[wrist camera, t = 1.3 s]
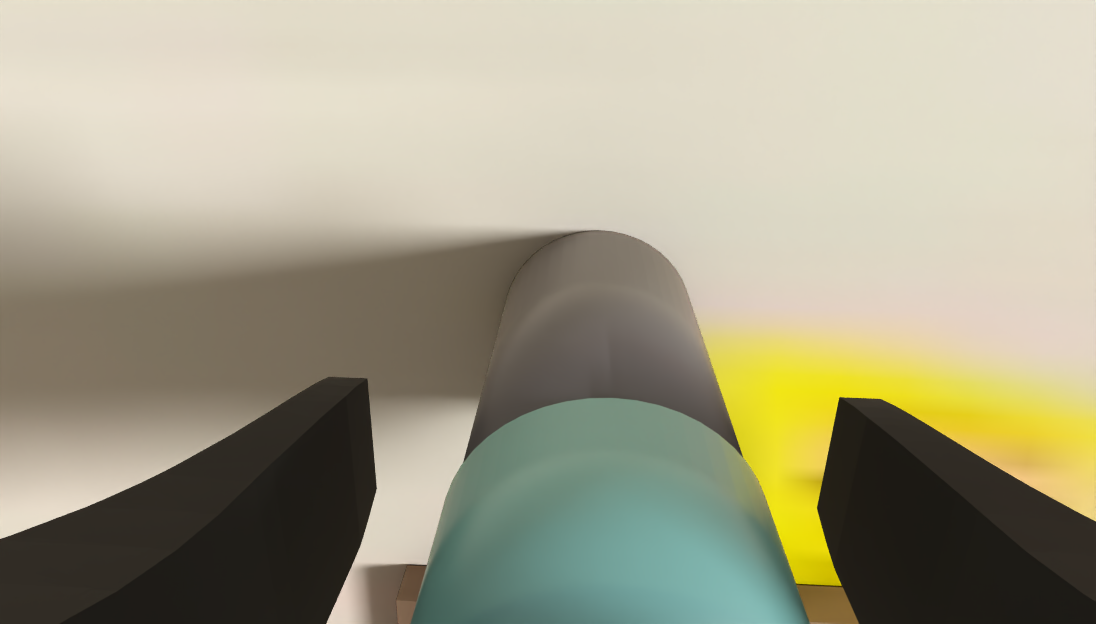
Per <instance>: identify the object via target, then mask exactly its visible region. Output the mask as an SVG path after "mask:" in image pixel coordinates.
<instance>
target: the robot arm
mask: <svg viewBox="0 0 1096 624" xmlns="http://www.w3.org/2000/svg"><path fill="white" fill-rule="evenodd" d="M376 489H377V487H376V475H375V463H374V451H373V440H372V428H371V416H370V404H369V392H368V381H367V379H364V378H339V377H328V378H326V379H323V380H321V381H319V382H318V383H316V384H314V385H312V386H310V387H309V388H307V389H305V390H304V391H302V392H300V393H299V394H297V395H295V396H294V397H292V398H291V399H289V400H287V401H286V402H284V403H282V404H281V405H279V406H278V407H276V408H274V409H273V410H271V411H270V412H268V413H266V414H265V415H263V416H261V417H260V418H258V419H256V420H255V421H253V422H252V423H250V424H248V425H247V426H245V427H243V428H242V429H240V430H238V431H237V432H235V433H233V434H232V435H230V436H228V437H226V438H225V439H223V440H221V441H219V442H217V443H216V444H214V445H212V446H210V447H208V448H207V449H205V450H203V451H201V452H199V453H198V454H196V455H194V456H192V457H190V458H189V459H187V460H185V461H183V462H181V463H180V464H178V465H176V466H174V467H172V468H170V469H168V470H166V471H164V472H162V473H160V474H158V475H156V476H154V477H152V478H150V479H148V480H146V481H144V482H142V483H140V484H138V485H135V486H133V487H131V488H129V489H126V490H124V491H122V492H120V493H118V494H115V495H113V496H111V497H109V498H106V499H104V500H102V501H100V502H97V503H95V504H92V505H90V506H88V507H85V508H83V509H80V510H77V511H75V512H72V513H69V514H67V515H64V516H61V517H59V518H56V519H53V520H51V521H48V522H45V523H43V524H40V525H37V526H35V527H32V528H30V529H27V530H24V531H22V532H19V533H16V534H14V535H11V536H8V537H5V538H2V539H0V624H326V623H327V620H328V618H329V616H330V614H331V612H332V609H333V607H334V605H335V603H336V600H337V598H338V596H339V594H340V591H341V589H342V587H343V585H344V582H345V580H346V578H347V575H348V573H349V571H350V569H351V566H352V564H353V562H354V559H355V557H356V555H357V552H358V550H359V548H360V545H361V542H362V539H363V535H364V532H365V529H366V525H367V522H368V519H369V515H370V511H371V508H372V504H373V500H374V497H375V493H376ZM817 510H818V514H819V517H820V521H821V525H822V528H823V532H824V536H825V539H826V543H827V546H828V549H829V552H830V556H831V559H832V562H833V565H834V568H835V571H836V573H837V575H838V578H839V580H840V582H841V584H842V587H843V589H844V591H845V593H846V596H847V598H848V600H849V602H850V605H851V607H852V609H853V611H854V614H855V616H856V618H857V620H858V622H859V624H1096V521H1094V520H1092V519H1090V518H1088V517H1086V516H1084V515H1082V514H1080V513H1078V512H1076V511H1074V510H1072V509H1071V508H1069V507H1067V506H1065V505H1063V504H1061V503H1060V502H1058V501H1056V500H1054V499H1052V498H1050V497H1049V496H1047V495H1045V494H1043V493H1041V492H1039V491H1038V490H1036V489H1034V488H1032V487H1030V486H1029V485H1027V484H1025V483H1023V482H1022V481H1020V480H1018V479H1016V478H1015V477H1013V476H1011V475H1009V474H1008V473H1006V472H1004V471H1003V470H1001V469H999V468H998V467H996V466H994V465H993V464H991V463H989V462H988V461H986V460H984V459H983V458H981V457H979V456H978V455H976V454H974V453H973V452H971V451H969V450H968V449H966V448H965V447H963V446H961V445H960V444H958V443H956V442H955V441H953V440H951V439H950V438H948V437H947V436H945V435H943V434H942V433H940V432H938V431H937V430H935V429H934V428H932V427H930V426H929V425H927V424H925V423H924V422H922V421H920V420H919V419H917V418H915V417H914V416H912V415H910V414H909V413H907V412H905V411H903V410H901V409H900V408H898V407H896V406H894V405H892V404H890V403H888V402H886V401H884V400H882V399H867V398H842V397H839V402H838V407H837V412H836V417H835V422H834V427H833V432H832V437H831V442H830V447H829V452H828V457H827V461H826V466H825V471H824V476H823V481H822V486H821V491H820V496H819V501H818V506H817Z"/></svg>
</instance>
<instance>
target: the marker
mask: <svg viewBox="0 0 1096 624" xmlns="http://www.w3.org/2000/svg"><path fill="white" fill-rule="evenodd" d="M411 624H810V622H809V619H808V616H807V614H806V611H805V608H804V605H803V602H802V600H801V597H800V594H799V591H798V588H797V585H796V583H795V580H794V577H793V574H792V571H791V569H790V566H789V563H788V560H787V557H786V554H785V552H784V549H783V546H782V543H781V540H780V538H779V535H778V532H777V529H776V526H775V523H774V521H773V518H772V515H771V512H770V509H769V507H768V504H767V501H766V498H765V495H764V493H763V491H762V488H761V486H760V484H759V481H758V479H757V478H756V476H755V474H754V473H753V471H752V470H751V468H750V466H749V465H748V463H747V462H746V461H745V460H744V459H743V456H742V453H741V450H740V447H739V444H738V441H737V438H736V435H735V432H734V429H733V426H732V423H731V420H730V417H729V414H728V411H727V408H726V406H725V403H724V400H723V397H722V394H721V391H720V388H719V385H718V382H717V379H716V376H715V373H714V370H713V367H712V364H711V361H710V358H709V355H708V352H707V349H706V346H705V343H704V340H703V337H702V334H701V331H700V329H699V326H698V323H697V320H696V317H695V314H694V311H693V308H692V305H691V302H690V299H689V296H688V293H687V290H686V288H685V285H684V283H683V281H682V279H681V277H680V275H679V274H678V272H677V270H676V269H675V268H674V266H673V265H672V264H671V263H670V262H669V260H668V259H667V258H665V257H664V256H663V255H662V254H661V253H660V252H659V251H657V250H656V249H655V248H653V247H652V246H650V245H649V244H647V243H645V242H643V241H641V240H639V239H637V238H634V237H631V236H628V235H625V234H621V233H616V232H609V231H587V232H580V233H575V234H572V235H568V236H565V237H562V238H560V239H557V240H555V241H553V242H551V243H549V244H548V245H546V246H544V247H543V248H541V249H540V250H539V251H537V252H536V253H535V254H534V255H532V256H531V257H530V258H529V260H528V261H527V262H526V263H525V264H524V265H523V266H522V268H521V269H520V270H519V272H518V273H517V275H516V277H515V278H514V280H513V282H512V284H511V287H510V290H509V292H508V295H507V299H506V303H505V307H504V310H503V314H502V318H501V322H500V326H499V329H498V333H497V337H496V341H495V344H494V348H493V352H492V356H491V360H490V363H489V367H488V371H487V375H486V378H485V382H484V386H483V390H482V394H481V397H480V401H479V405H478V409H477V413H476V416H475V420H474V424H473V428H472V431H471V435H470V439H469V443H468V447H467V450H466V454H465V458H464V462H463V464H462V465H461V467H460V468H459V470H458V472H457V474H456V475H455V477H454V479H453V481H452V483H451V485H450V488H449V491H448V493H447V496H446V499H445V502H444V506H443V509H442V513H441V517H440V520H439V524H438V527H437V531H436V534H435V538H434V542H433V545H432V549H431V552H430V556H429V559H428V563H427V567H426V570H425V574H424V577H423V581H422V584H421V588H420V591H419V595H418V599H417V602H416V606H415V609H414V613H413V616H412V620H411Z"/></svg>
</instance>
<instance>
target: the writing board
mask: <svg viewBox="0 0 1096 624" xmlns="http://www.w3.org/2000/svg"><path fill="white" fill-rule="evenodd" d="M426 567H427V566H414V565H407V567H406V571H405V574H404V577H403V580H402V583H401V586H400V589H399V593H398V596H397V599H396V607H397V620H398V624H411V620H412V616H413V613H414V609H415V606H416V602H417V599H418V595H419V591H420V588H421V584H422V581H423V577H424V574H425V570H426ZM797 588H798V591H799V594H800V597H801V600H802V602H803V605H804V608H805V611H806V614H807V616H808V619H809V622H810V624H859V622H858V620H857V618H856V616H855V614H854V611H853V609H852V607H851V605H850V602H849V600H848V598H847V596H846V593H845V591H844V589H843V587H828V586H808V585H797Z"/></svg>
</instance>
